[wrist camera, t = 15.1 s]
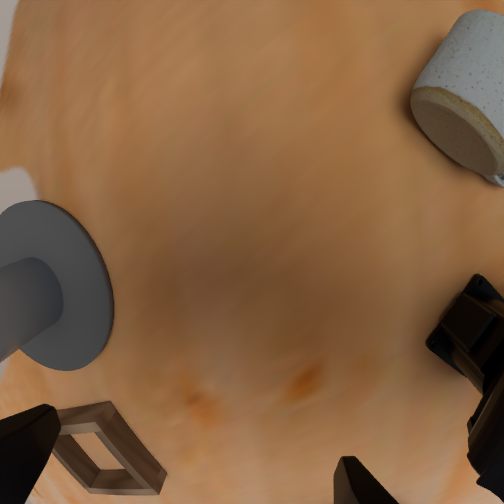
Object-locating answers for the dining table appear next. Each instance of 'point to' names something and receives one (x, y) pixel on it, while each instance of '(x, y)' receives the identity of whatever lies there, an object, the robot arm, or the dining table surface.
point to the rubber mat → (62, 281)
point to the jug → (27, 303)
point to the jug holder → (117, 442)
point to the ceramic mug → (466, 94)
